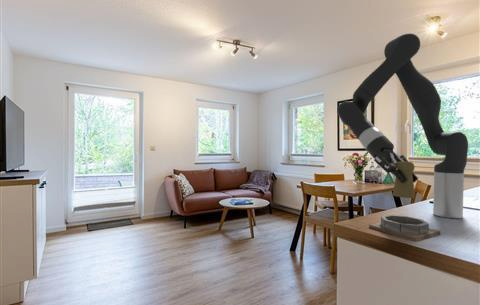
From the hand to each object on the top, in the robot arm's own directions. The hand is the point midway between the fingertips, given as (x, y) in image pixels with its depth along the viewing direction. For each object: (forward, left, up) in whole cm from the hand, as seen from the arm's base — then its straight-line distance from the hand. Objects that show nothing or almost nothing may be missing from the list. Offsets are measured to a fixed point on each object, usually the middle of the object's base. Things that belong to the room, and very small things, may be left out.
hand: (410, 181), depth 80 cm
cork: (0, -2, -5) cm, 5 cm away
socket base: (0, -2, -16) cm, 16 cm away
